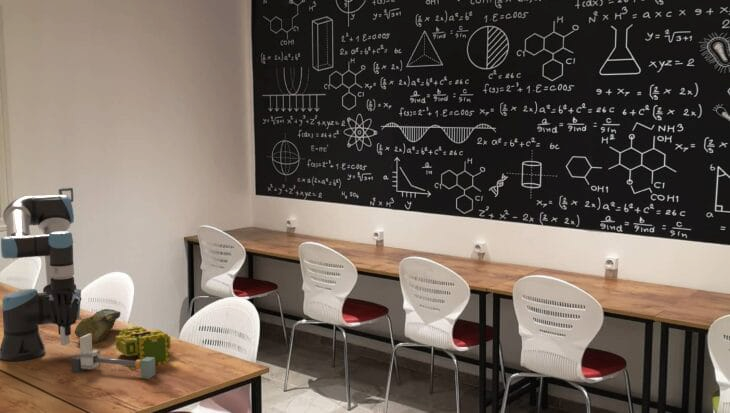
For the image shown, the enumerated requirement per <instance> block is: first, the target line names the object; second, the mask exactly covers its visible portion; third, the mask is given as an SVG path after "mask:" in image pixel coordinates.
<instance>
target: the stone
mask: <svg viewBox="0 0 730 413" xmlns="http://www.w3.org/2000/svg"><path fill="white" fill-rule="evenodd" d="M120 316H121V312H120V311H119V310H116V309H109V308H108V309H107V308H105V309H101V310H99V311H97V312H95V313H94V314H93V315H92V316H89V317H86V318H83V319H82V320H81V321H80V322H78V324H77V326H76V327H75V330H74V334H75V336H76V337H77V338H79V339H80V337H82V336H85V335H87V334H89V333H90V334H92V344H97V343H99V342H100V341H101V340H103V339H104V338H105V337H106V336H107V334H108V333H110V332H111V330H112V329H113V328H114V326H115V322H116V321H117V320H118V319H119V318H120Z"/></svg>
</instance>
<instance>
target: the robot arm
mask: <svg viewBox="0 0 730 413" xmlns="http://www.w3.org/2000/svg"><path fill="white" fill-rule="evenodd" d="M70 198H71V197H69V196H68V195H66V194H58V193H57V194H50V195H47V194H45V195H26V196H25V195H24V196H21V197H19V198H17V199H14V200H12V201H11V202H10V203H9V204H8V205H7V206H6V207H5V208H4V211H3V214H2V217H3V219H2V220H3V223H4V224H5V225H6V236H4V237H1V239H0V248H1V250H0V252H1V257H2V258H3V259H13V260H14V259H23V258H24V259H25V258H35V257H36V258H37V257H39V258H40V257H44V262H45V272H46V273H45V274H46V285H45V286H43V288H42V292H38V290H37V289H35V288H28V289H27V288H25V289H19V290H17V291H13V292H10V293H8V294H6V295H5V296H4V297H3V298H2V302H1V311H2V328H3V329H2V330H3V337H2V340H1V344H0V360H3V361H9V362H19V361H27V360H33V359H36V358H38V357H41V356H43V355H45V353H46V348H45V347H46V345H45V344H44V342H43V339H42V336H41V334H40V328H39V326H41V325H52V324H54V325H57V328H58V330H57V331H58V335H59V336H60V337H59V338H60V346H67V345H69V344H70V335H72V334H71V333H72V330H71V326H72V325H74V324H76V323H77V321H78V320H79V318H80V314H81V301H82V290H81V289H79V288H77V284H75V277H74V275H75V266H74V265H75V264H74V239H73V234H72V232H71V231H68V230H69V229H70V228H71V224H73V223H74V222H75V221H74V220H75V217H74V216H75V215H74V208H73V204H72V201H71V199H70ZM30 226H37V227H38V229H39V231H40V232H42V233H43V234H34V235H33V234H32V235H31V232H30Z"/></svg>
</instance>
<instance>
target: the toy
mask: <svg viewBox="0 0 730 413" xmlns="http://www.w3.org/2000/svg"><path fill="white" fill-rule="evenodd" d="M171 346H172V345H171V336H170V335H168V333H166V332H165V331H163V330H160V329H155V330H154V331H153V330H152V331H149V330H147V329H146V328H144V327H142V326H132V328H129V327H125V328H122V329H121V331H120V332H118V335H115V348H116V350H117V351H118V352H120V353H121V354H122V355H124V356H126V357H131V356H135V357H137V360H142V359H144V358H146V357H155V365H161V364H167V363H169V362H168V361H169V357H168V356H169V352H168V350H171V348H172V347H171Z"/></svg>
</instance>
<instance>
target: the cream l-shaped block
mask: <svg viewBox="0 0 730 413" xmlns="http://www.w3.org/2000/svg"><path fill="white" fill-rule="evenodd" d="M79 349H80V351H79V353H80V358H81V368H83V369H85V370H93V369H94V368H96V367H98V366H101V362H93V357H99V358H101V350H100V349H97V348H96V349H95V348H94V349H93V343H92V334H90V333H89V334H87V335H85V336H82V337H80V338H79Z"/></svg>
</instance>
